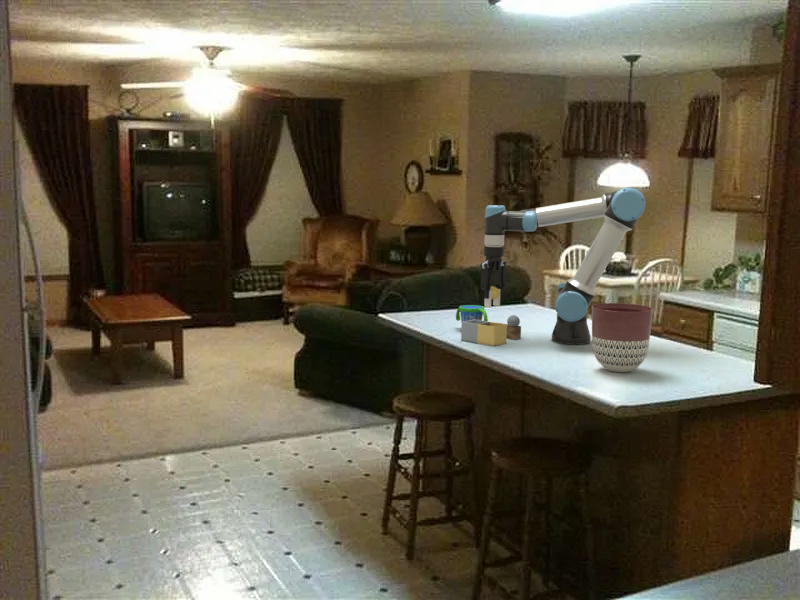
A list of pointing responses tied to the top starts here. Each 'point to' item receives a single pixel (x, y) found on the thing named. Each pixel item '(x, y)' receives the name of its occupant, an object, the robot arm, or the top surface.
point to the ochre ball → (494, 292)
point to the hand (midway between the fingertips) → (492, 306)
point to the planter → (620, 335)
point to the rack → (513, 332)
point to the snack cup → (471, 313)
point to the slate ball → (513, 321)
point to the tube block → (484, 332)
